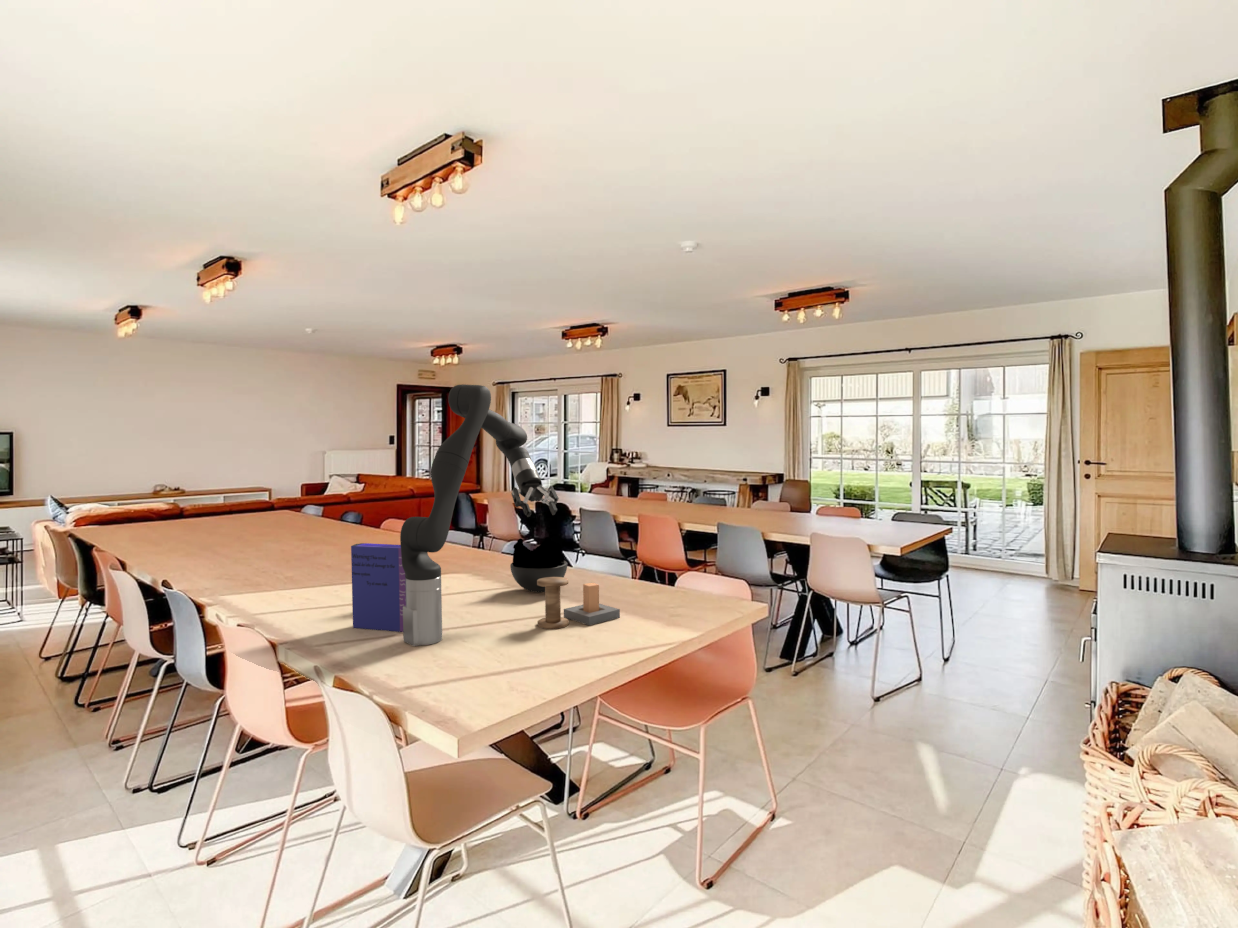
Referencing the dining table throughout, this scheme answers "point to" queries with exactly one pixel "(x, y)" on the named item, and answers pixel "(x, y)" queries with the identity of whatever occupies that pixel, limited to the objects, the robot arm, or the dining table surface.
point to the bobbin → (552, 603)
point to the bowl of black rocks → (537, 564)
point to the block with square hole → (591, 614)
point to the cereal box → (378, 587)
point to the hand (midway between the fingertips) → (542, 514)
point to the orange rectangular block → (590, 597)
